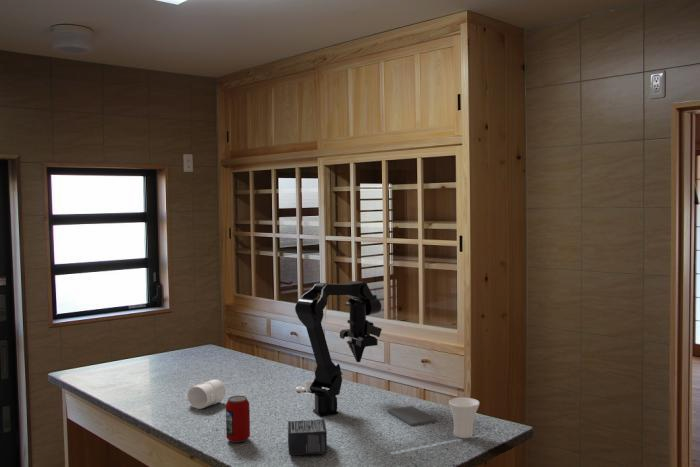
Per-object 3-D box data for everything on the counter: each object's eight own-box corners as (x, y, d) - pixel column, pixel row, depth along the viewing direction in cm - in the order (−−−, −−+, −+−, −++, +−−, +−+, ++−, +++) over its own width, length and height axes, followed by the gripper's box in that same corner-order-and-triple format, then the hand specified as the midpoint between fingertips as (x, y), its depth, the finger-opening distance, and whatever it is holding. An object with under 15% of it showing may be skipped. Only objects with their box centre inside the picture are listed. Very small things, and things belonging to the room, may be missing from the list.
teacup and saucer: (293, 393, 233) (292, 382, 233) (303, 388, 240) (302, 377, 240) (314, 396, 230) (314, 384, 229) (324, 390, 237) (324, 379, 237)
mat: (411, 426, 195) (411, 423, 195) (387, 412, 209) (387, 409, 209) (436, 421, 199) (436, 419, 199) (411, 408, 213) (411, 405, 213)
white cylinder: (227, 404, 221) (227, 381, 221) (207, 411, 213) (207, 387, 213) (202, 399, 227) (201, 376, 227) (182, 406, 220) (181, 382, 219)
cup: (460, 442, 181) (460, 407, 181) (443, 432, 190) (442, 398, 189) (486, 437, 185) (486, 403, 184) (468, 427, 193) (468, 394, 193)
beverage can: (227, 435, 190) (226, 395, 189) (250, 434, 190) (250, 394, 190) (225, 443, 183) (224, 402, 183) (249, 442, 184) (248, 401, 183)
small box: (324, 441, 184) (288, 442, 183) (324, 418, 184) (287, 419, 183) (326, 454, 174) (287, 456, 173) (326, 430, 174) (287, 432, 173)
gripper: (391, 319, 218) (391, 365, 219) (366, 311, 235) (367, 354, 235) (361, 322, 213) (362, 369, 214) (338, 314, 230) (339, 357, 231)
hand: (358, 362), depth 224 cm, fingers closed
